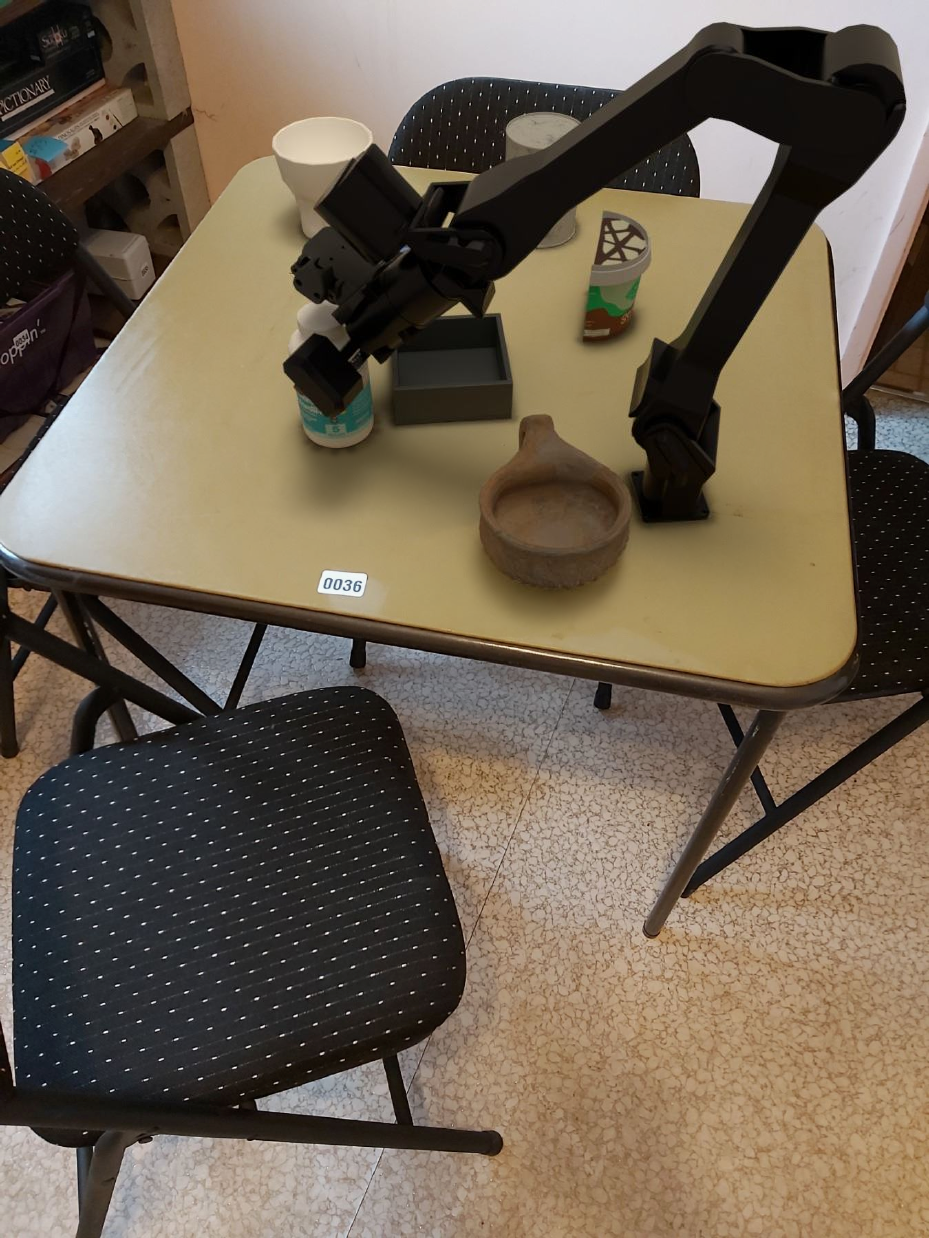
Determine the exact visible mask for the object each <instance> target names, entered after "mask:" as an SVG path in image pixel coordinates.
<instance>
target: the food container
mask: <svg viewBox="0 0 929 1238" xmlns="http://www.w3.org/2000/svg"><path fill="white" fill-rule="evenodd" d="M651 262H652V243H651V239H650V236H649V233H648V230H647V229H646V228H645V227H644V225H642V224H641V223H640V222H638V221H637V220H635V219H634V218H632V217H630V216H628V215H626V214H623V213H619V212H617V211H611V210H604V209H603V210H602V216H601V223H600V229H599V236H598V242H597V246H596V251H595V255H594V261H593V264H591V266H590V267H591V268H590V275H589V282H588V293H587V302H586V309H585V318H584V326H583V334H582V342H588V343H595V342H605V341H608V340H611V339H615V338H617V337H619V336H620V335H621V334H623V333H624V332H625V331H627V329H628V327H629V325H630V321H631V318H632V314H633V310H634V306H635V301H636V298H637V294H638V291H639V286H640V283H641V279H642V276H643V274H644V273H645V272H646V271H648V269H649V267H650V266H651Z"/></svg>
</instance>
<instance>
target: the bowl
mask: <svg viewBox="0 0 929 1238" xmlns="http://www.w3.org/2000/svg"><path fill="white" fill-rule="evenodd" d="M557 432H558V431H556V429H555V424H554V420H553V417H552V416H551V415H550V414H546V413H544V414H543V413H542V414H541V413H540V414H531V415H527V416H524V417H523V418H522V419H521V420H520V423H519V428H518V451H517V452H516V453H515V455H513V457H511V459H510V460H509V461H508V462H507V463H506V464H504V465H503V466H501V467H500V468H498V469H497V470H496V471H494V473H492V474H491V476H489V477H488V478H487V480H486V481H485V482H484V484H483V485H482V487H481V489H480V492H479V495H478V505H479V512H480V513H479V514H480V515H479V523H478V531H479V533H478V535H479V539H480V542H481V545H482V546H483V549H484V552H485V554H486V555H487V557H488V559H489V561H490V562H491V563H492V565H494V566H495V568H497V571H499V572H500V573H502V574H503V575H505V576H506V577H507V578H509V579H510V580H512V581H516V582H517V583H518V584H521V585H528V586H530V587H532V588H538V589H545V590H554V589H555V590H563V589H565V590H568V591H569V590H574V589H575V588H577V587H585V586H587V585H588V584H589V583H592V582H596V581H597V580H599V579H600V578H601V577H602V576H604V575H606V573H607V572H609V571H610V569H611V568H613V566H616V564H617V563H618V561H619V559H620V557H621V556H623V553H624V551H625V550H626V548H627V543H628V542H629V540H630V533H631V532H630V529H631V528H630V522H631V517H632V514H633V513H632V512H633V503H632V497H631V492H630V489H628V487H627V486H626V485H625V482H624V480H623V478H622V477H621V475H619V474H617V473H616V472H615V471H614V470H612V469H611V468H610V467H608V466H607V465H605V464H603V463H602V462H601V461H598V460H597V459H595V458H594V457H592V456H591V455H590V454H588V453H586V452H584V451H583V450H581V449H578V448H577V447H575V446H574V445H572V444H571V443H568V442H567V441H566V440H564V439H563V438H562V437H561V436H560V435H559V434H558V433H557Z"/></svg>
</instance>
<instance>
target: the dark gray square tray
mask: <svg viewBox="0 0 929 1238" xmlns="http://www.w3.org/2000/svg"><path fill="white" fill-rule="evenodd" d="M391 375H392V391H393V392H392V393H393V402H394V413H395V424H396V425H397V426H398V425H413V424H430V423H431V424H432V423H433V424H434V423H446V422H450V423H451V422H465V421H482V420H483V421H484V420H496V419H498V420H499V419H511V418H513V417H512V416H513V398H514V380H513V379H514V378H513V374H512V368H511V364H510V357H509V352H508V347H507V341H506V336H505V331H504V325H503V319H502V313H501V312H492V313H491V312H489V313H485V315H484V317H483V319H481V320H478V319H476V318H475V317H474V316H473V315H472V314H471V313H470V314H453V315H451V314H450V315H441V316H440V317H439V318H437V319H436V320H434V321H433V322H432V323H430V324H429V325H428V326H426V327H425V328H424V330H423V331H422V332H421V333H420V334H419V336H418V337H417V338H416V339H415V340H414V341H413V342H412V343H410V344H409V345H408V346H407V345H406V344H405V343H403V344H402V345H400V346H399V347H397V349H396V350H395V351H394V353H393V354H392V355H391Z"/></svg>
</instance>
